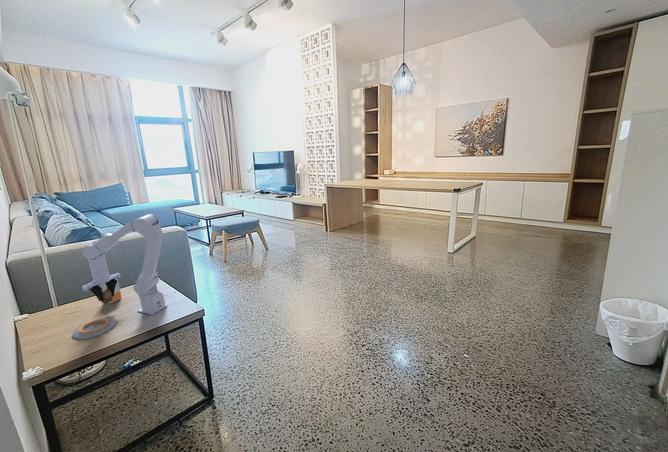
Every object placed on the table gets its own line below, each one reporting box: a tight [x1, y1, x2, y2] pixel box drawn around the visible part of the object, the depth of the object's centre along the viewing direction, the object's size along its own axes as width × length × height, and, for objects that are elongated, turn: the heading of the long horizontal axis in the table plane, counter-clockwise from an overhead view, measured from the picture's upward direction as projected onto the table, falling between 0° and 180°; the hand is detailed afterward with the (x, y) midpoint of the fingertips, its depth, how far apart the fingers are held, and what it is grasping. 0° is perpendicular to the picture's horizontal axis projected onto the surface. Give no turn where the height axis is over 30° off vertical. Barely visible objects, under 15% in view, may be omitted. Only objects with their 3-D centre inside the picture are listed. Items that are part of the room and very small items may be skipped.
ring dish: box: [71, 317, 117, 341], centre depth 118 cm, size 14×14×2 cm
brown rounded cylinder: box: [101, 289, 113, 304], centre depth 129 cm, size 4×4×5 cm
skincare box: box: [99, 278, 122, 304], centre depth 140 cm, size 6×4×12 cm
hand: (106, 298), depth 129 cm, fingers closed on brown rounded cylinder, 4 cm apart
